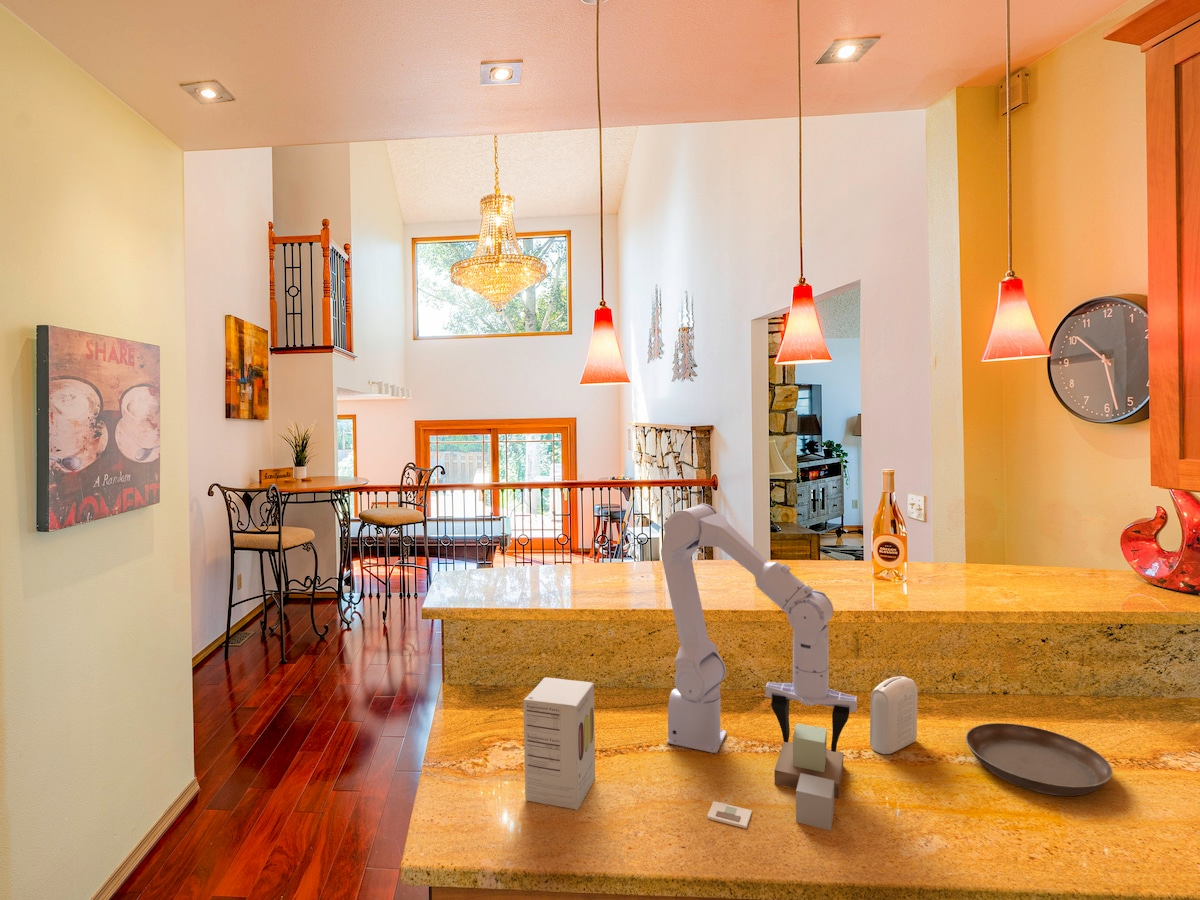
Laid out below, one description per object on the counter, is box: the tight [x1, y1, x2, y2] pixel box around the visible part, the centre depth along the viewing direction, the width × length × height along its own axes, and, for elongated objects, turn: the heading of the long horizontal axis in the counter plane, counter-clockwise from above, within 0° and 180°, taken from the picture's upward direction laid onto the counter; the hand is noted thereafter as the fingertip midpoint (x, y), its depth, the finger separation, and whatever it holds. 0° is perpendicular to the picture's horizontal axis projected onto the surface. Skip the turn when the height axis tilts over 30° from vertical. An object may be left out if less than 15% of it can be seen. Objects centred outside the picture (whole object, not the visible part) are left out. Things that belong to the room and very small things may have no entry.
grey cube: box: [795, 773, 835, 831], centre depth 98 cm, size 5×5×5 cm
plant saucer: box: [965, 722, 1113, 797], centre depth 110 cm, size 21×21×3 cm
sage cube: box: [792, 723, 828, 772], centre depth 108 cm, size 5×5×5 cm
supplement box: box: [522, 676, 596, 811], centre depth 105 cm, size 10×9×17 cm
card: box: [706, 800, 753, 829], centre depth 98 cm, size 6×4×1 cm, turn 66°
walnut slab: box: [774, 741, 844, 799], centre depth 109 cm, size 10×10×3 cm
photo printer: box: [869, 675, 919, 755], centre depth 118 cm, size 10×4×12 cm, turn 123°
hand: (809, 744), depth 108 cm, fingers open, 7 cm apart
